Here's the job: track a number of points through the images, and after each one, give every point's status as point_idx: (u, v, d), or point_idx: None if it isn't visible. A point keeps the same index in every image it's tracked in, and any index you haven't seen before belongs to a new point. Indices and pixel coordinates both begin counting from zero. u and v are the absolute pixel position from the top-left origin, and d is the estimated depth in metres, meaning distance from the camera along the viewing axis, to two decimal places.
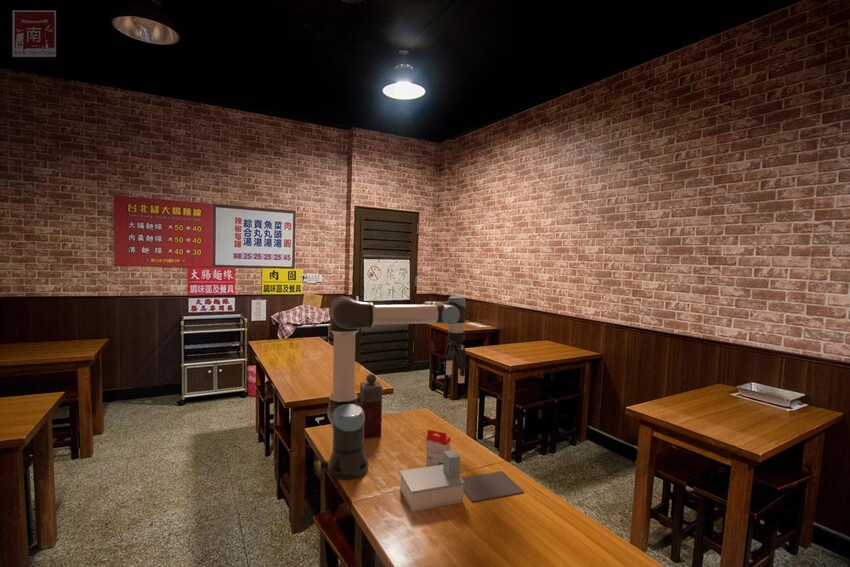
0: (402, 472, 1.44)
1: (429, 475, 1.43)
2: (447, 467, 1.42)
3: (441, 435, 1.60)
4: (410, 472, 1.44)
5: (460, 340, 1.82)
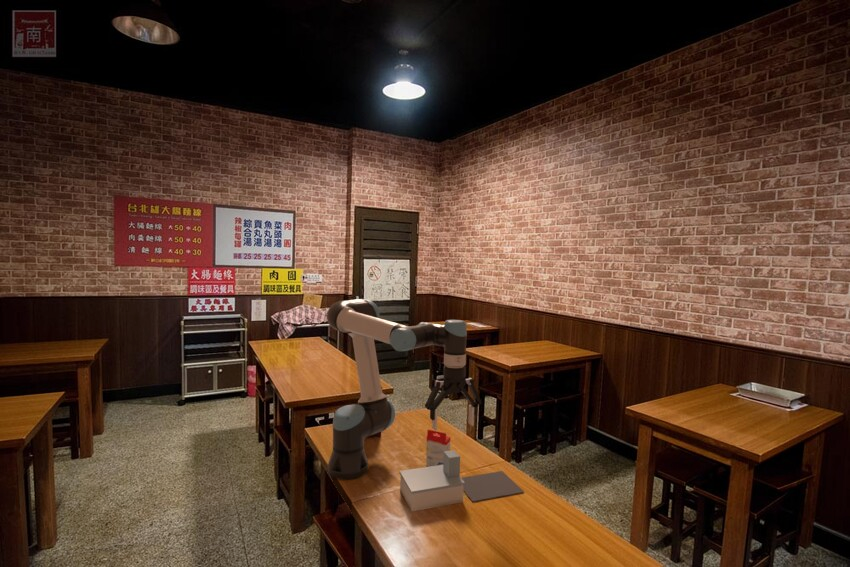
0: (402, 472, 1.44)
1: (429, 475, 1.43)
2: (447, 467, 1.42)
3: (441, 435, 1.60)
4: (410, 472, 1.44)
5: (445, 376, 1.41)
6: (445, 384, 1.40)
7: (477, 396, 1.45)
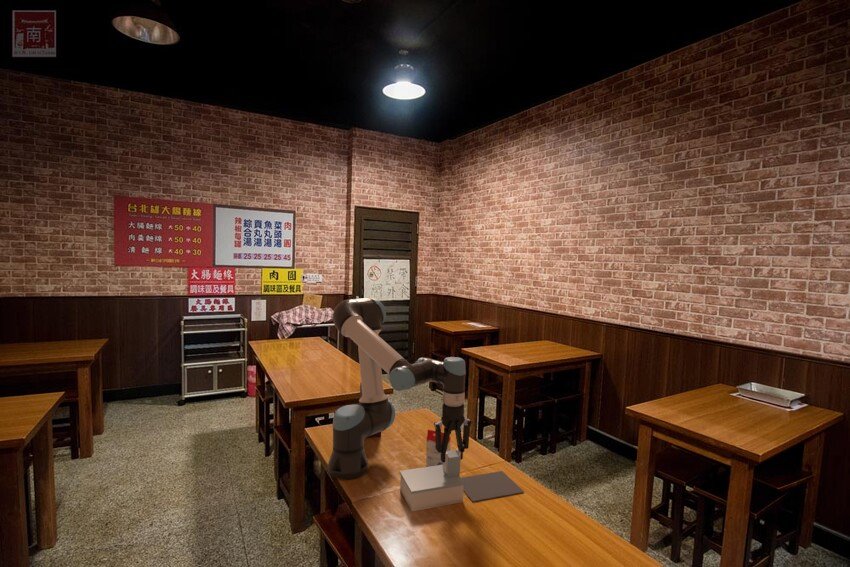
0: (402, 472, 1.44)
1: (429, 475, 1.43)
2: None
3: (441, 435, 1.60)
4: (410, 472, 1.44)
5: (443, 414, 1.42)
6: (444, 422, 1.41)
7: (467, 439, 1.44)
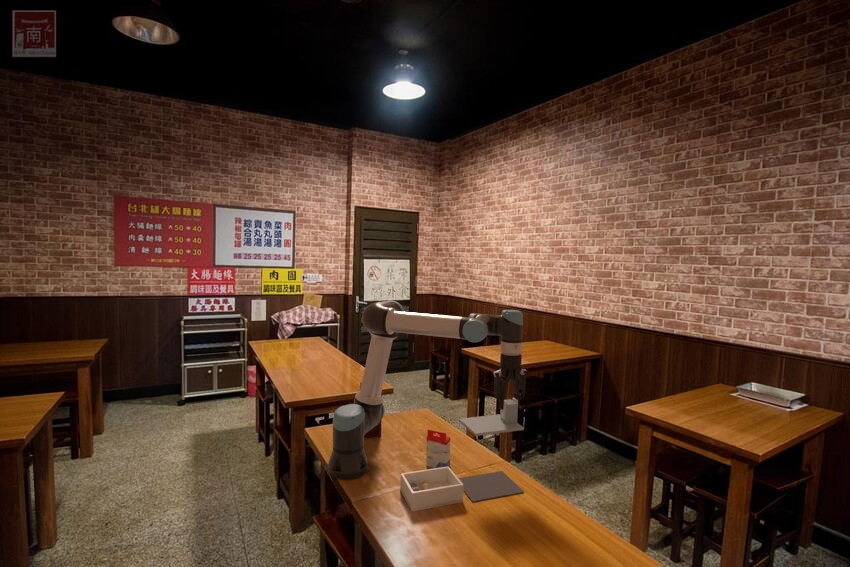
0: (462, 419, 1.51)
1: (488, 422, 1.49)
2: None
3: (441, 435, 1.60)
4: (469, 419, 1.51)
5: (502, 363, 1.48)
6: (502, 371, 1.48)
7: (524, 388, 1.51)
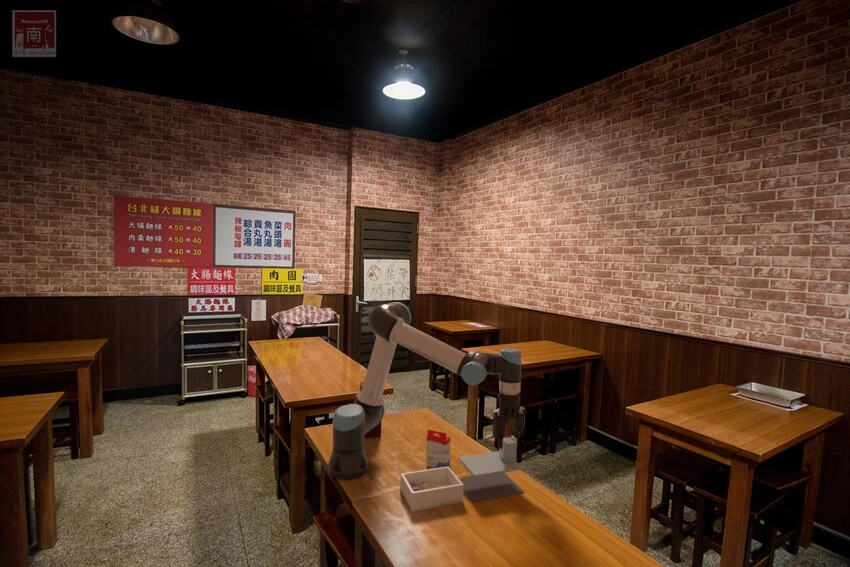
0: (461, 458, 1.51)
1: (487, 461, 1.50)
2: None
3: (441, 435, 1.60)
4: (468, 458, 1.52)
5: (501, 402, 1.49)
6: (501, 410, 1.48)
7: (522, 427, 1.52)
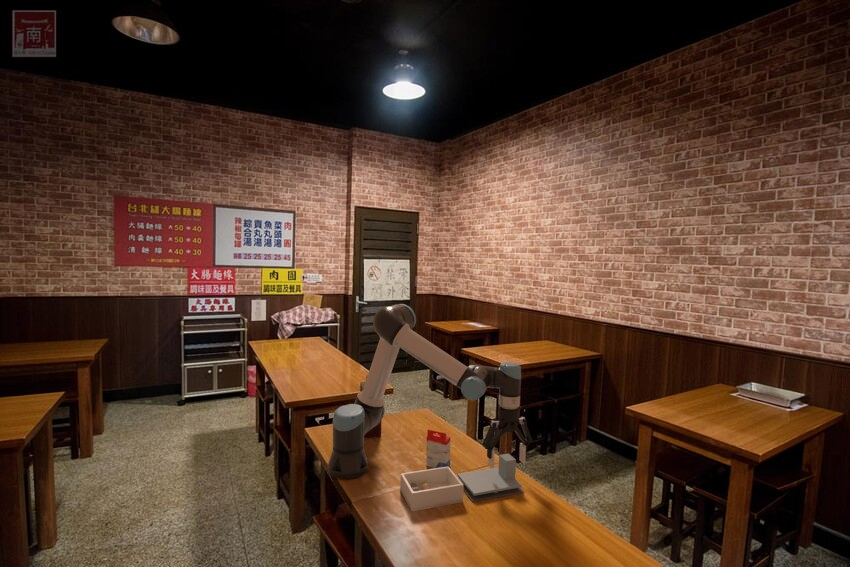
0: (460, 475, 1.52)
1: (486, 477, 1.50)
2: (504, 470, 1.50)
3: (441, 435, 1.60)
4: (468, 475, 1.52)
5: (500, 416, 1.49)
6: (501, 424, 1.49)
7: (529, 435, 1.53)
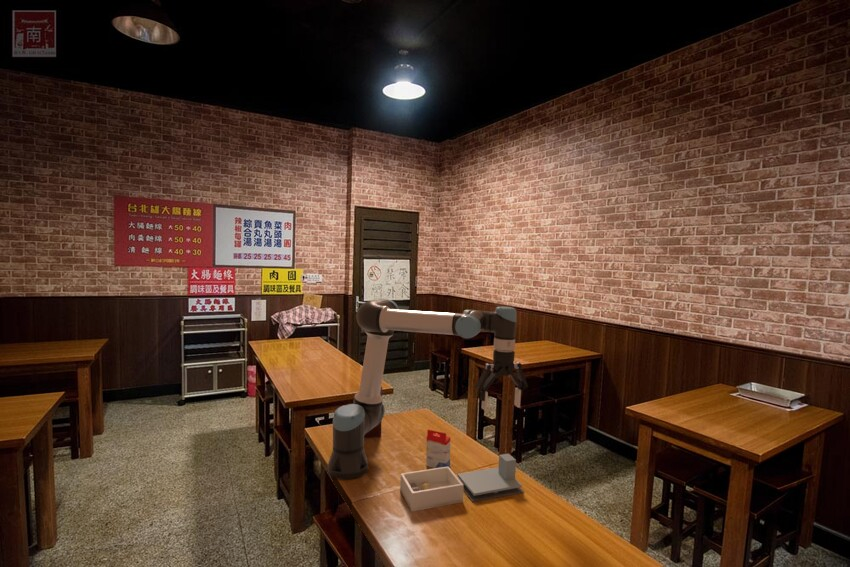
0: (460, 475, 1.52)
1: (486, 477, 1.50)
2: (504, 470, 1.50)
3: (441, 435, 1.60)
4: (468, 475, 1.52)
5: (495, 359, 1.48)
6: (495, 367, 1.48)
7: (524, 379, 1.52)
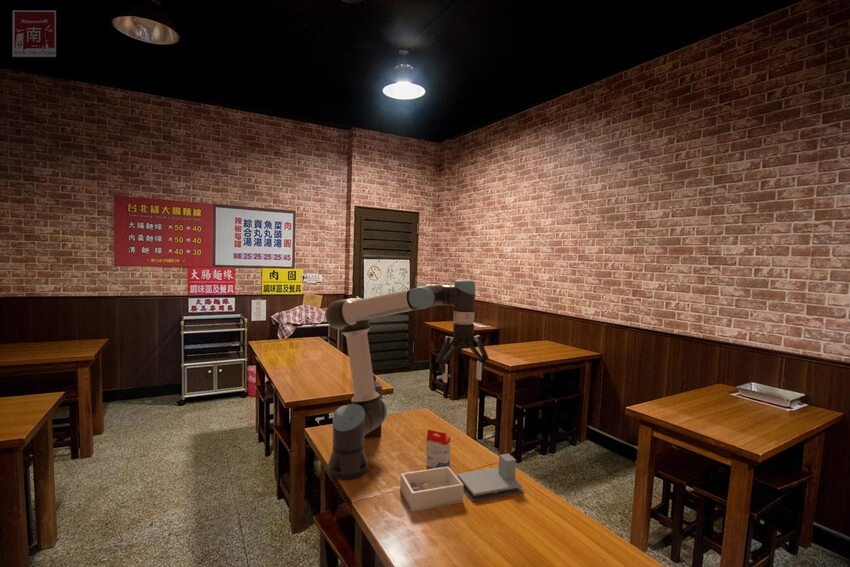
0: (460, 475, 1.52)
1: (486, 477, 1.50)
2: (504, 470, 1.50)
3: (441, 435, 1.60)
4: (468, 475, 1.52)
5: (454, 332, 1.50)
6: (455, 340, 1.50)
7: (484, 352, 1.54)
